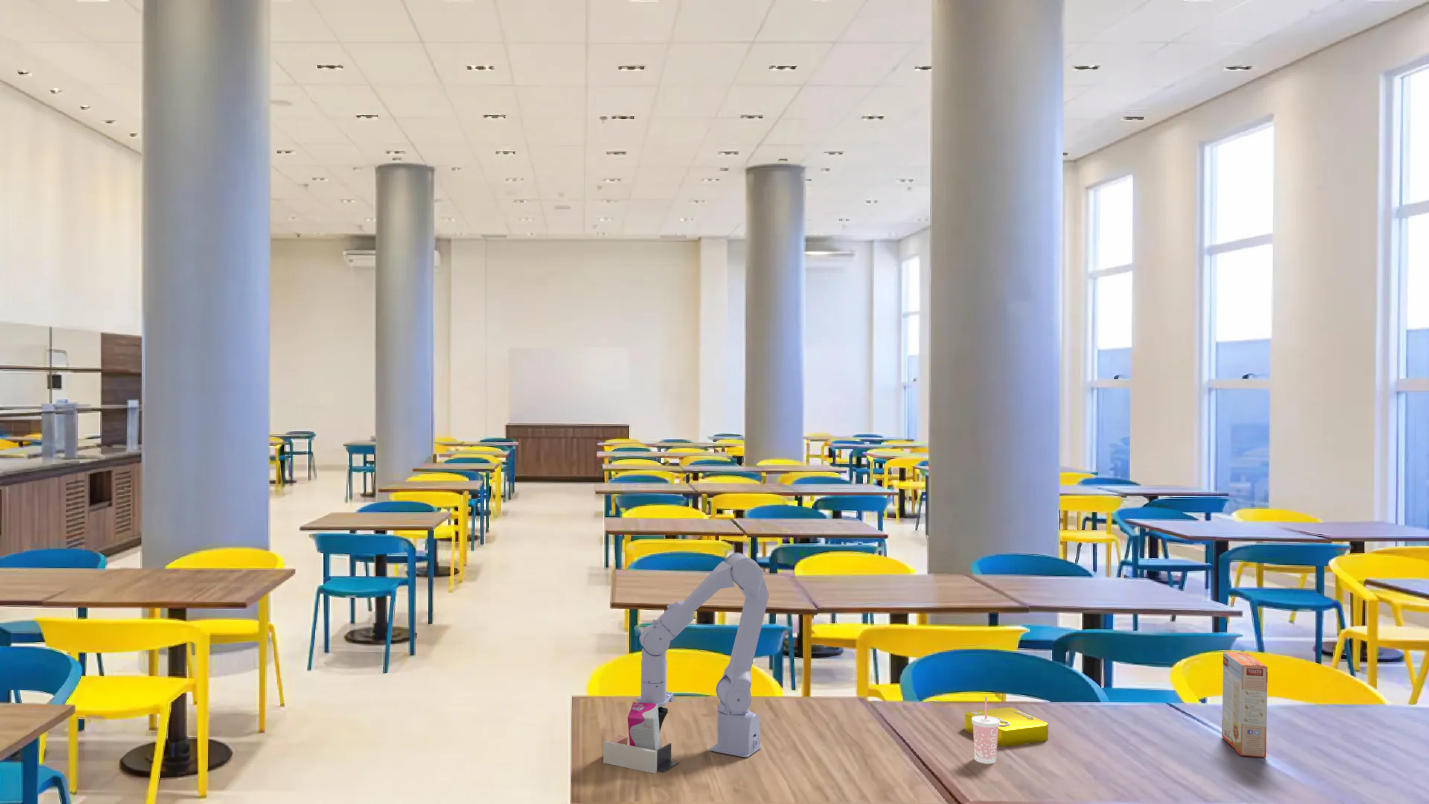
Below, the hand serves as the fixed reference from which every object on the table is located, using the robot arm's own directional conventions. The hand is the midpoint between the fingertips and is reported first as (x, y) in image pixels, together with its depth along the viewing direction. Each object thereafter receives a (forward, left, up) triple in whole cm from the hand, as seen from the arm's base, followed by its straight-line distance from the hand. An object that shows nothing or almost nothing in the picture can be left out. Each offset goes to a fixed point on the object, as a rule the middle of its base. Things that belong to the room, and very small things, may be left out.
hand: (652, 741), depth 223 cm
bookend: (-7, +5, -3) cm, 9 cm away
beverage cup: (-66, -34, -3) cm, 74 cm away
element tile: (-66, -55, -4) cm, 86 cm away
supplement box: (0, +3, -2) cm, 4 cm away
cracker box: (-117, -73, -3) cm, 138 cm away
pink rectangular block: (+6, +5, -3) cm, 9 cm away
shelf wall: (0, +10, -3) cm, 10 cm away
